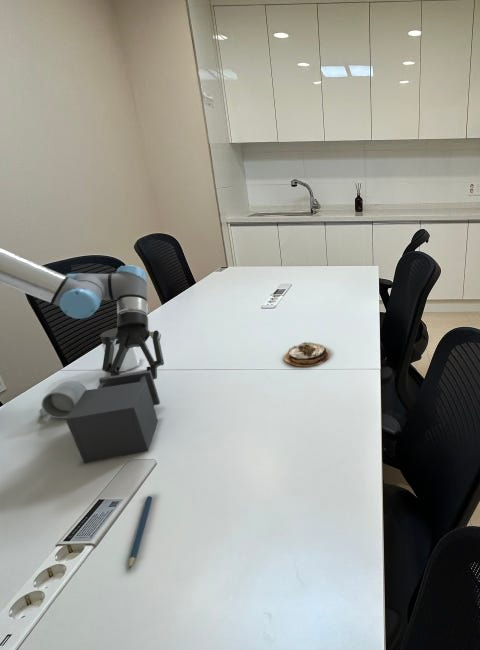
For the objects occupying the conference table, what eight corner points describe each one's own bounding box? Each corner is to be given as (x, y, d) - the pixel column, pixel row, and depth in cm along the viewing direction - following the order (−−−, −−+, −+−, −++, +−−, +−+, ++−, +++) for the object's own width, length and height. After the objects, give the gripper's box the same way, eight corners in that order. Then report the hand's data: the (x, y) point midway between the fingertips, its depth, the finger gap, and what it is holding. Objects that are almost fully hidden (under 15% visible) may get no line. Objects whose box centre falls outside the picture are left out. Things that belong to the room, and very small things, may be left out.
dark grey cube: (101, 431, 95) (85, 390, 90) (158, 420, 98) (145, 380, 94) (83, 463, 85) (65, 419, 80) (148, 450, 88) (133, 407, 83)
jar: (146, 360, 130) (136, 327, 125) (130, 372, 122) (119, 337, 118) (121, 359, 131) (111, 326, 126) (104, 371, 123) (92, 337, 118)
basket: (118, 397, 107) (107, 366, 103) (164, 390, 110) (155, 359, 106) (98, 434, 92) (85, 400, 88) (152, 425, 95) (141, 390, 91)
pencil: (152, 499, 75) (133, 569, 62) (147, 500, 75) (127, 571, 62) (151, 495, 75) (132, 565, 62) (145, 497, 75) (125, 567, 62)
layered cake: (339, 354, 130) (338, 343, 128) (304, 371, 120) (303, 359, 118) (310, 342, 139) (309, 332, 137) (275, 357, 129) (274, 346, 127)
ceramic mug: (93, 399, 108) (83, 375, 105) (80, 416, 101) (69, 391, 98) (51, 405, 106) (40, 381, 103) (34, 423, 99) (21, 397, 96)
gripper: (174, 317, 117) (178, 390, 109) (99, 326, 112) (98, 403, 104) (166, 306, 110) (171, 383, 102) (86, 315, 105) (85, 397, 97)
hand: (134, 393), depth 103 cm, fingers closed on basket, 7 cm apart
